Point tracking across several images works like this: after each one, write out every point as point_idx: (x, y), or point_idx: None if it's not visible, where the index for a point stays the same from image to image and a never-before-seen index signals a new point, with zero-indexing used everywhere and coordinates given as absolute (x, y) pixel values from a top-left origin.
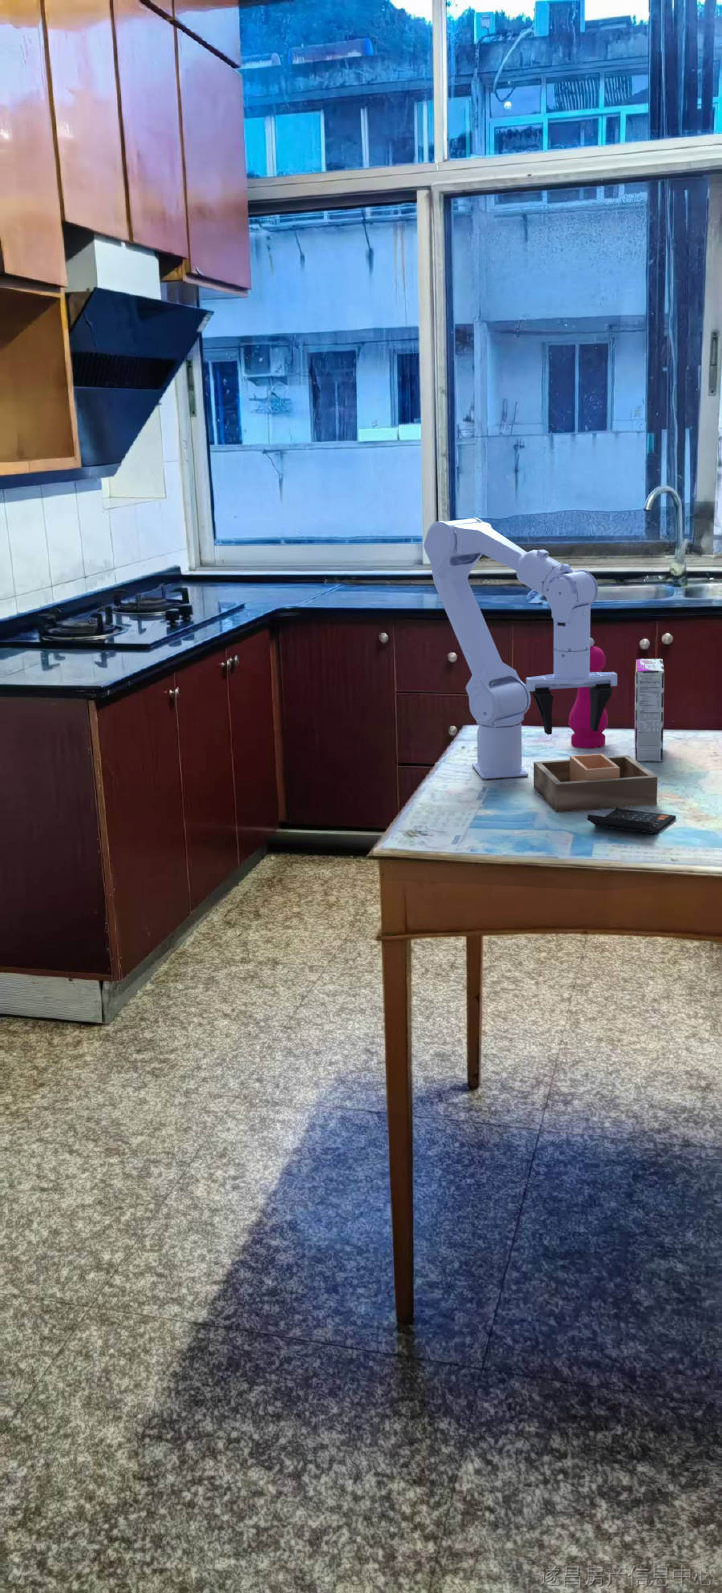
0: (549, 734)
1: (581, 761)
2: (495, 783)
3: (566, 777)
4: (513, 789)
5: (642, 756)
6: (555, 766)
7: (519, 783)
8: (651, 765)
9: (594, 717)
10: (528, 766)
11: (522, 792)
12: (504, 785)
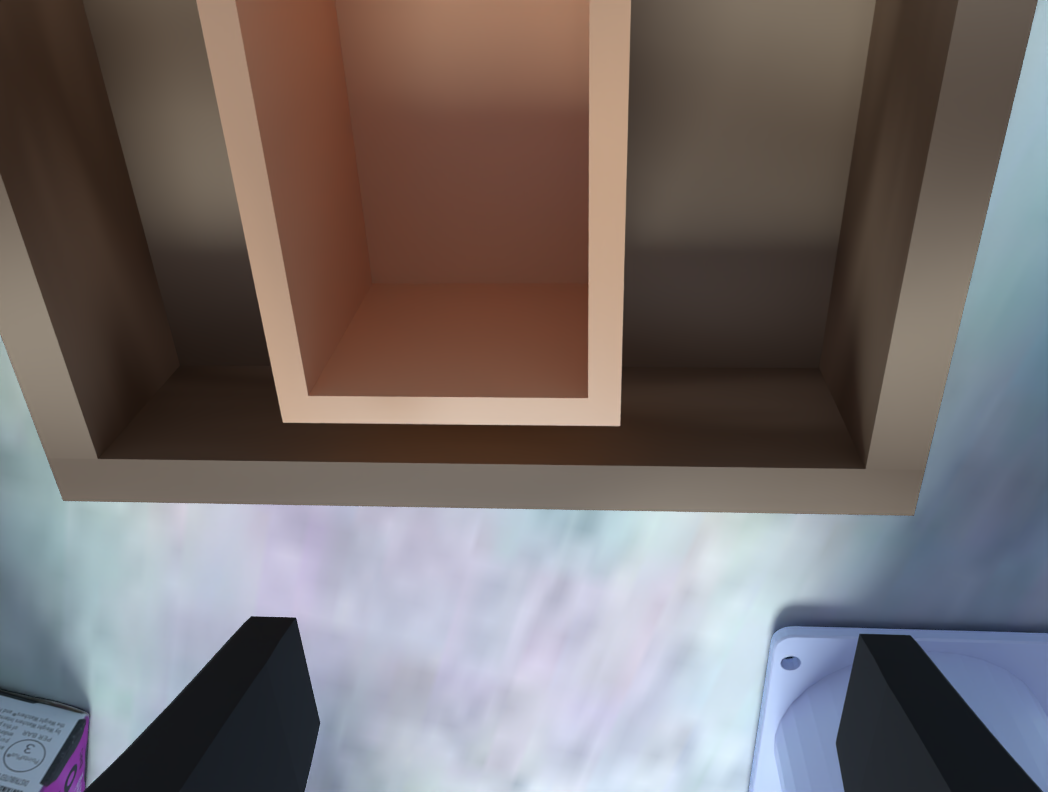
0: (891, 635)
1: (508, 369)
2: (1045, 553)
3: None
4: (1000, 402)
5: (36, 726)
6: (719, 444)
7: (890, 517)
8: (5, 642)
9: (224, 784)
10: (693, 779)
11: (975, 317)
12: (1011, 501)
